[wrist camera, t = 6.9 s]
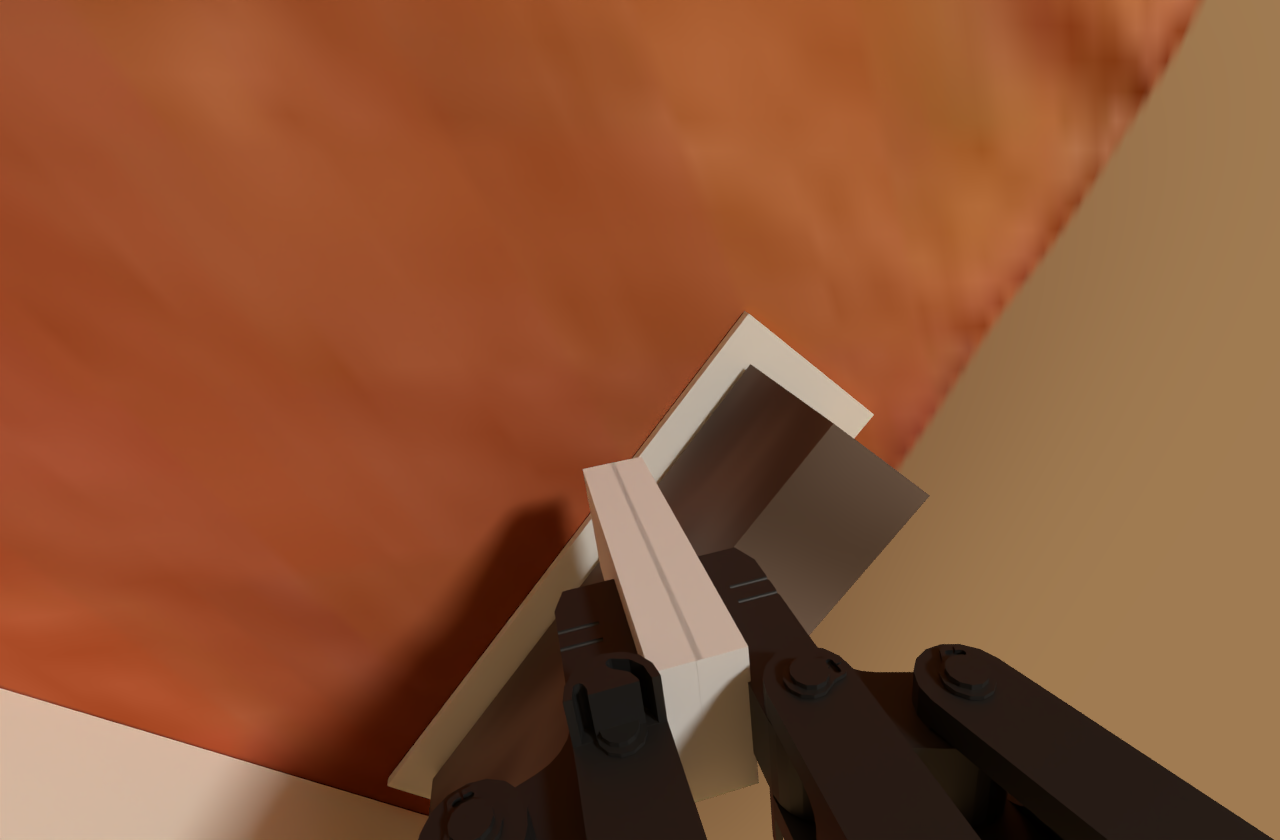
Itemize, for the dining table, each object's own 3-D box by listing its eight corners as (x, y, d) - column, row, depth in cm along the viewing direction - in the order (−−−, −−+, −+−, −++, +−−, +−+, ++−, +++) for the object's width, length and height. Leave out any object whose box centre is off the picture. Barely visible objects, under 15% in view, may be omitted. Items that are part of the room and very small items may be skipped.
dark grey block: (498, 833, 21) (499, 1041, 16) (410, 807, 20) (381, 1024, 15) (830, 423, 18) (960, 517, 13) (750, 364, 17) (860, 442, 12)
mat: (388, 777, 20) (386, 786, 19) (744, 311, 17) (748, 313, 16) (527, 821, 22) (528, 829, 21) (868, 411, 19) (873, 414, 18)
